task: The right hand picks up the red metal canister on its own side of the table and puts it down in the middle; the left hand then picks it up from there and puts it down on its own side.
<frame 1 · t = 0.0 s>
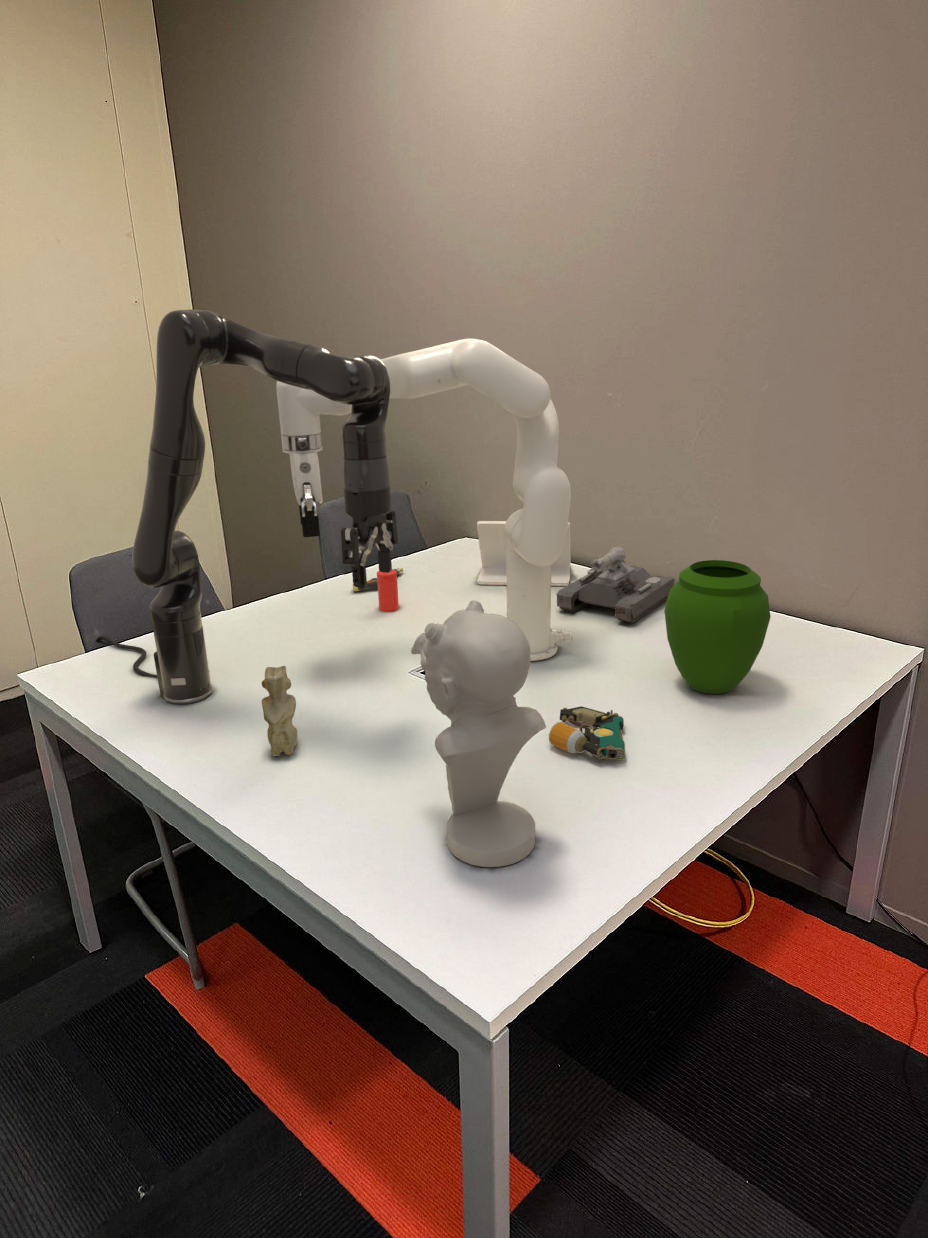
left hand: (373, 579, 144), 29 cm above the table, tool pointing down, fingers open, 8 cm apart
right hand: (310, 530, 169), 31 cm above the table, tool pointing down, fingers open, 9 cm apart
tablet stand: (525, 575, 239), on the table
canister: (388, 608, 217), on the table
bust sculpture: (470, 832, 125), on the table
vase: (710, 687, 169), on the table
toy: (615, 605, 214), on the table
sculpture: (284, 750, 150), on the table
spray gun: (592, 740, 150), on the table
toy gun: (378, 582, 237), on the table
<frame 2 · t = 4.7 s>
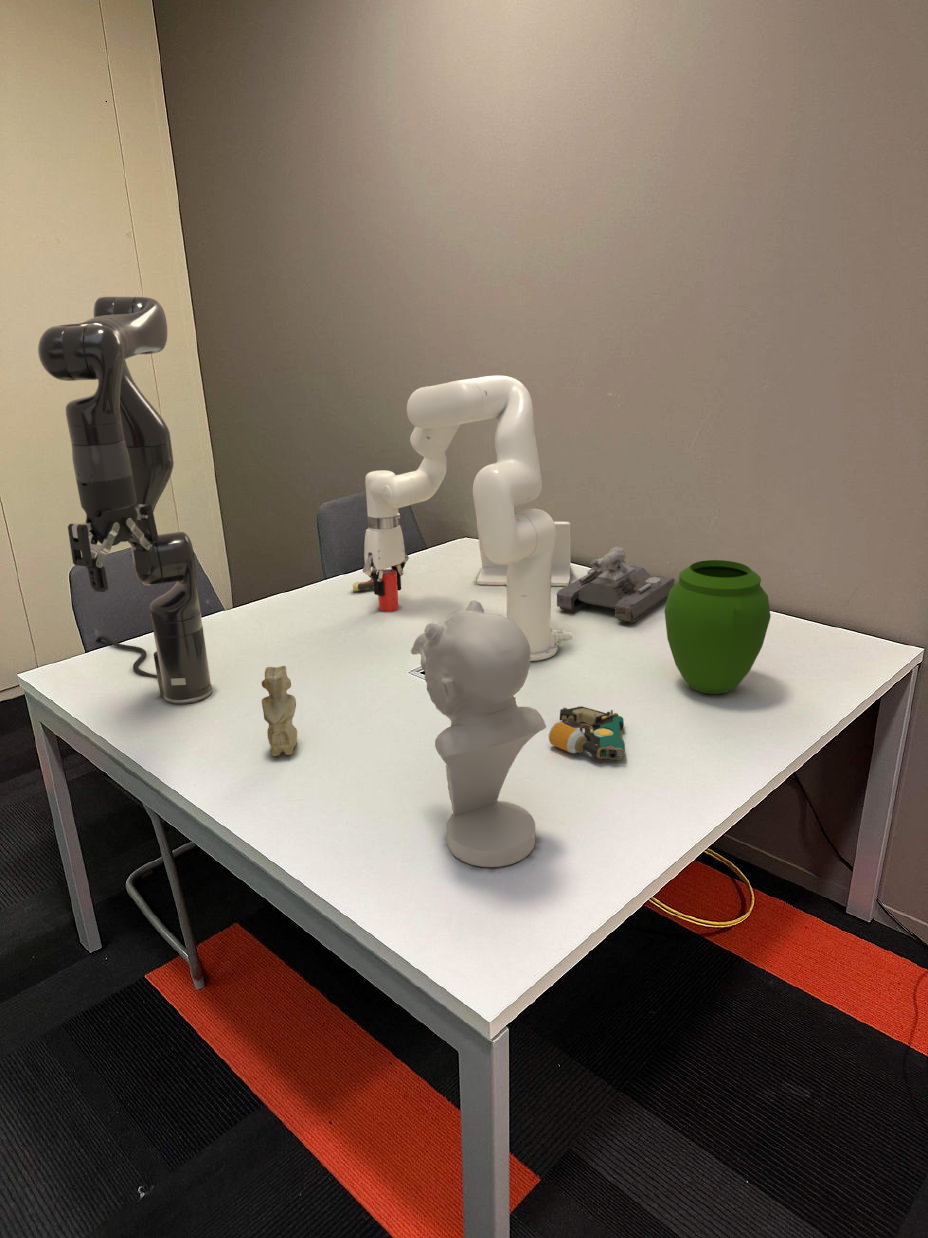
left hand: (123, 582, 127), 35 cm above the table, tool pointing down, fingers open, 8 cm apart
right hand: (387, 591, 215), 5 cm above the table, tool pointing down, fingers closed on canister, 5 cm apart
canister: (388, 608, 217), on the table, touching right hand
everything else where it was.
when the right hand's fingers open (5 cm above the table, at t = 18.4 s): canister stays where it is, on the table.
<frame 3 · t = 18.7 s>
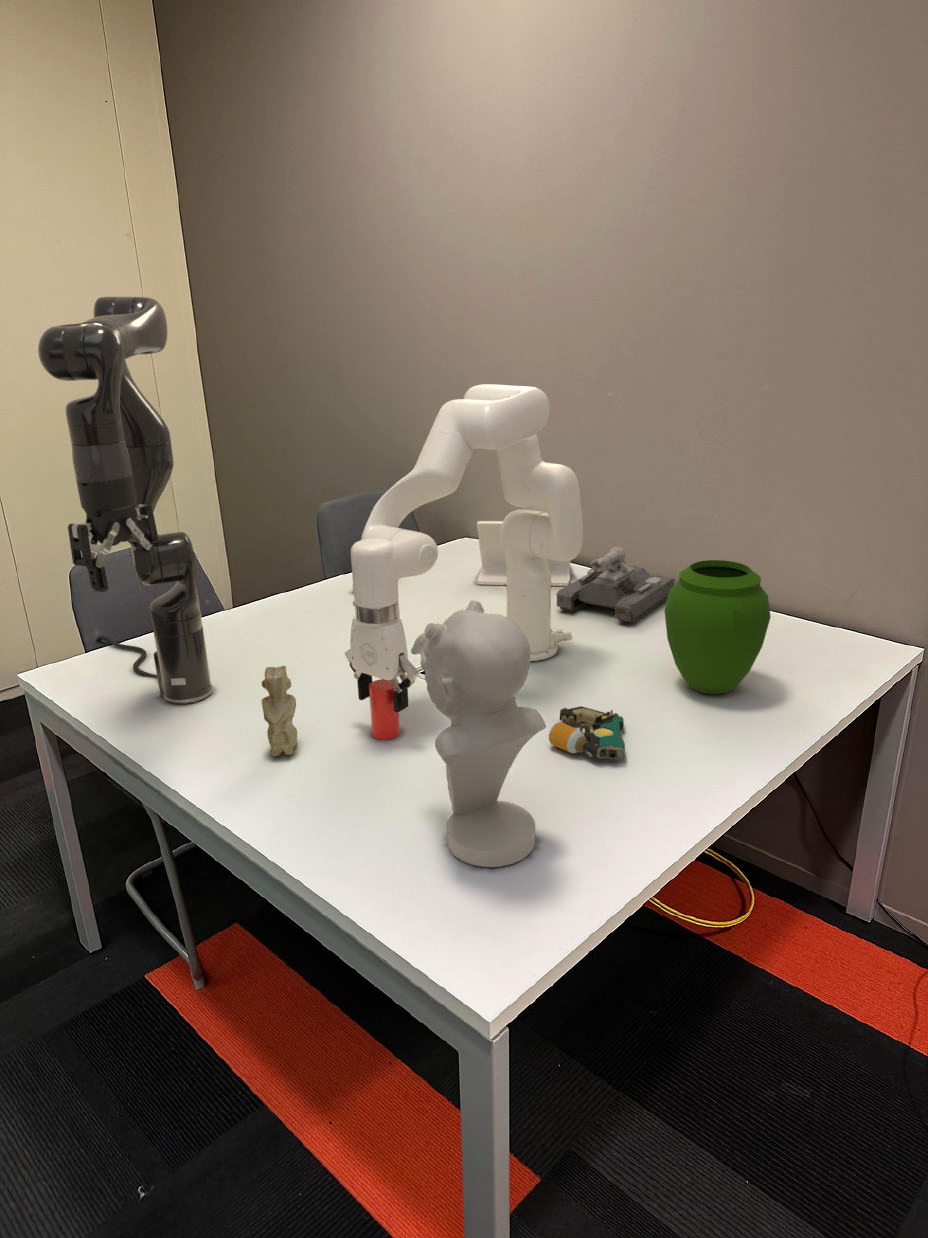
left hand: (123, 582, 127), 35 cm above the table, tool pointing down, fingers open, 8 cm apart
right hand: (383, 702, 152), 6 cm above the table, tool pointing down, fingers open, 8 cm apart
canister: (386, 733, 155), on the table
everything else where it was.
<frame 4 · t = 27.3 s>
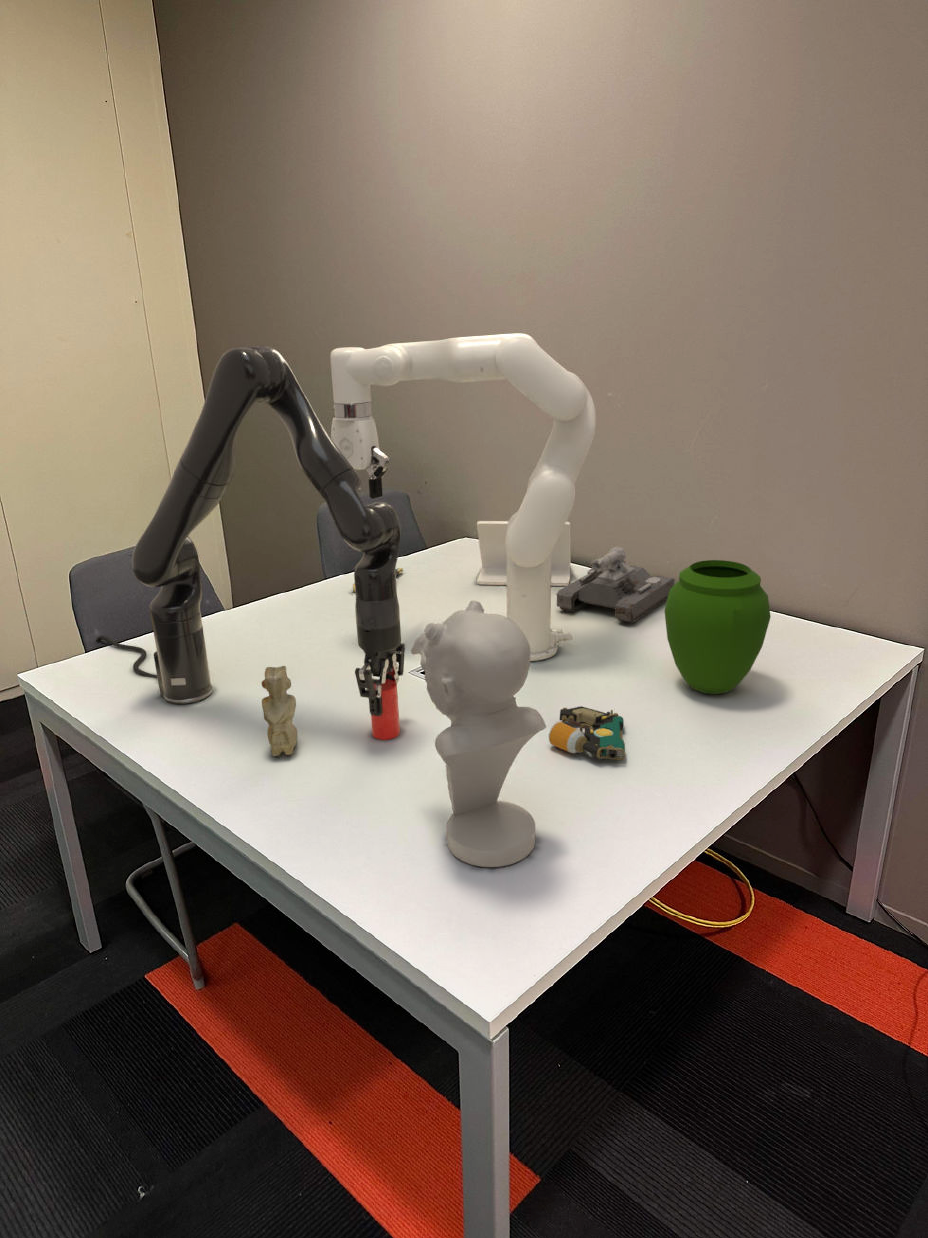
left hand: (384, 707, 153), 5 cm above the table, tool pointing down, fingers closed on canister, 5 cm apart
right hand: (359, 494, 179), 35 cm above the table, tool pointing down, fingers open, 9 cm apart
canister: (386, 733, 155), on the table, touching left hand
everything else where it was.
when the left hand's fingers open (6 cm above the table, at t = 40.8 s): canister stays where it is, on the table.
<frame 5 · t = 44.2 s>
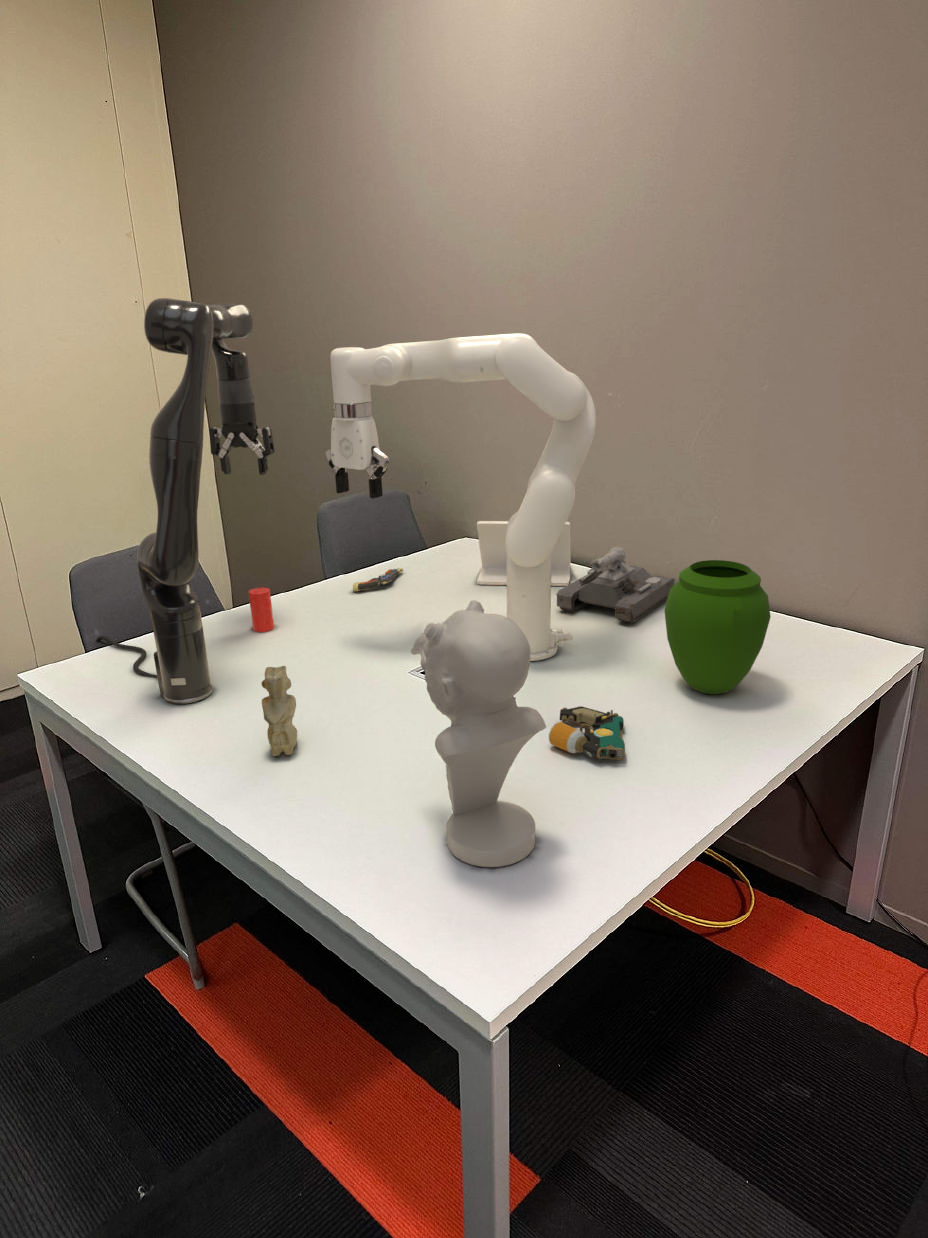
left hand: (245, 474, 193), 38 cm above the table, tool pointing down, fingers open, 8 cm apart
right hand: (359, 494, 179), 35 cm above the table, tool pointing down, fingers open, 9 cm apart
canister: (263, 628, 206), on the table
everything else where it was.
at the end: canister inside the target area (0.0 cm from its centre), on the table; canister tilted 0°; the two hands never held the canister at the same time; the left hand is holding nothing; the right hand is holding nothing; canister at rest at the end (0.0 cm/s) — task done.
